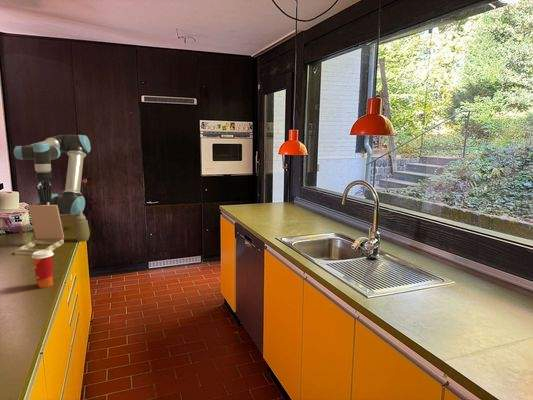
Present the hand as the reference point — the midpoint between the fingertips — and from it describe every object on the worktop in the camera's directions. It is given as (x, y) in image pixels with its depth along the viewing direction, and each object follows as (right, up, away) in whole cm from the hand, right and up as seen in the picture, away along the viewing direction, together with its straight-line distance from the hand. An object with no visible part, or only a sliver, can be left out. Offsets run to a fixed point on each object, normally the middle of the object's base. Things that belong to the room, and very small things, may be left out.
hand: (46, 213), depth 207 cm
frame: (0, -19, -6) cm, 20 cm away
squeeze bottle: (+15, -16, +11) cm, 24 cm away
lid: (0, -5, -1) cm, 5 cm away
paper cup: (+32, -27, -54) cm, 69 cm away
